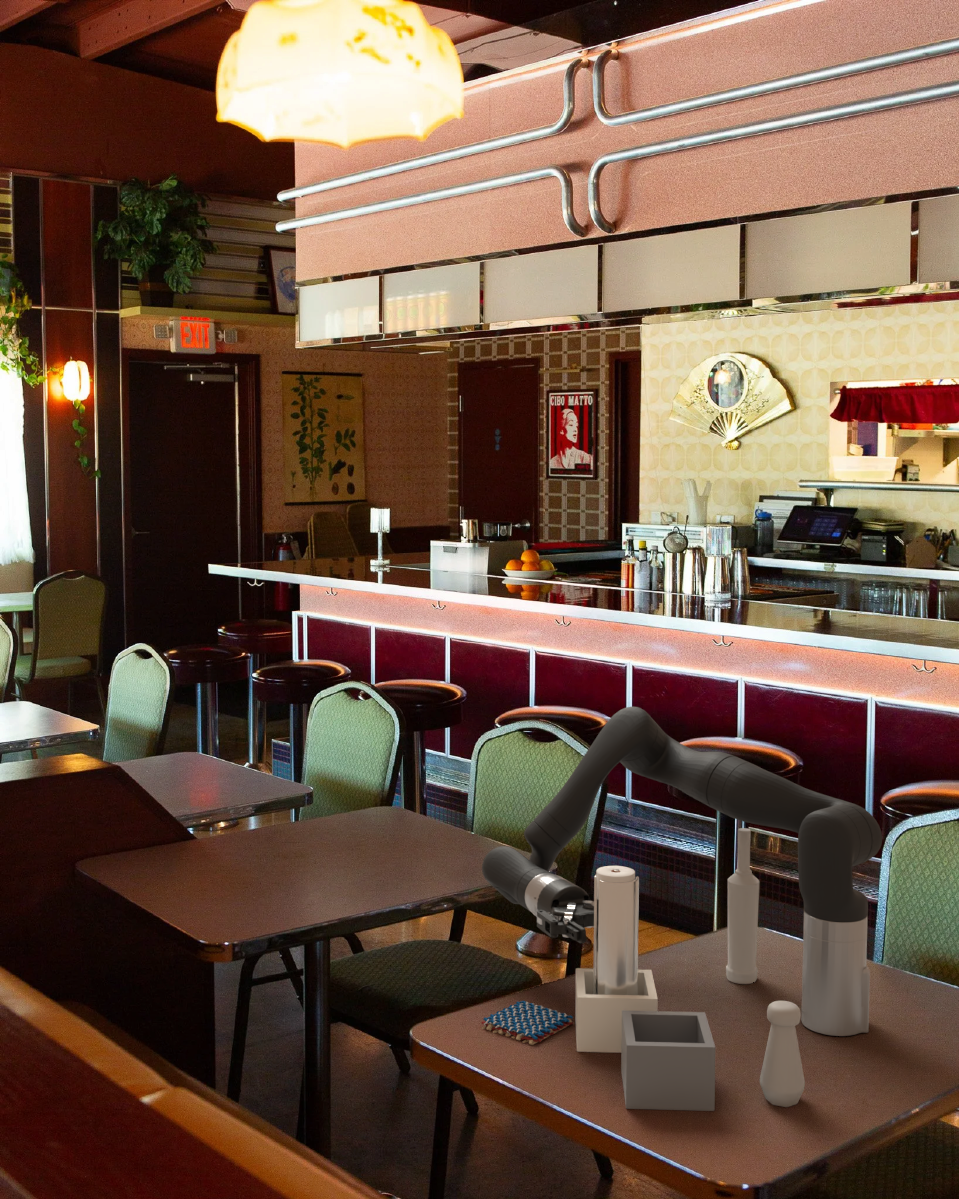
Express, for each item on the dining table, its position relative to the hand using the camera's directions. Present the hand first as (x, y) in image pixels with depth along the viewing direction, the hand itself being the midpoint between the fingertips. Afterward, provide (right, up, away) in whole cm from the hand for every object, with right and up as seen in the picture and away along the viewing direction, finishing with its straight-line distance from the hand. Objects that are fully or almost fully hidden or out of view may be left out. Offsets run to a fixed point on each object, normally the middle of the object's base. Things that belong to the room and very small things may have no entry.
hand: (609, 932), depth 192 cm
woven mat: (-12, -15, +3) cm, 20 cm away
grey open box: (+6, -16, -18) cm, 25 cm away
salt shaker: (+21, -17, -21) cm, 34 cm away
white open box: (+1, -15, -1) cm, 15 cm away
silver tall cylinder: (+1, -15, -1) cm, 15 cm away
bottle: (+24, -13, +22) cm, 35 cm away
